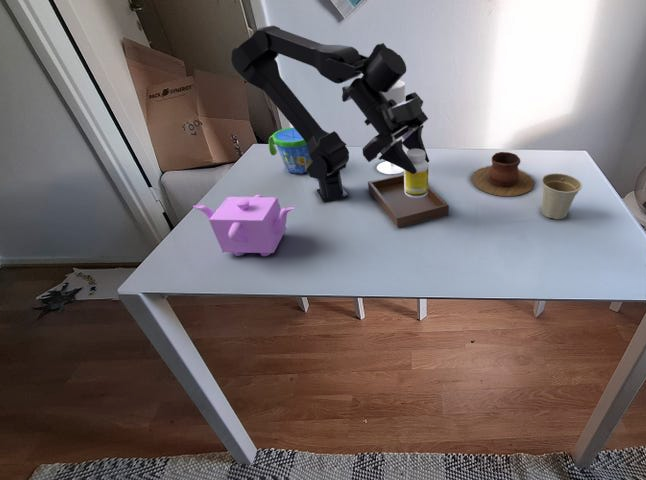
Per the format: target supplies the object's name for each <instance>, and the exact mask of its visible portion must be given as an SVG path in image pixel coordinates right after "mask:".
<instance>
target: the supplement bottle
mask: <svg viewBox="0 0 646 480" xmlns="http://www.w3.org/2000/svg"><path fill="white" fill-rule="evenodd" d="M406 155H407V156H408V158H409V159H410V161H411V162H412V164H413V165H414V167H415V169H416V170H417V172H416V173H415V174H412V173H410V172H408V171H406V170H404V171H403V174H404V192H405V194H406V195H407V196H409V197H411V198H421V197H424V196H426V195H427V193H428V185H429V162H428V163H427V161H426V160H425V158H426V156H425V151H424V150H422V149H410V150H408V149H407V150H406Z"/></svg>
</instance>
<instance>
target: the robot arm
mask: <svg viewBox="0 0 646 480" xmlns="http://www.w3.org/2000/svg"><path fill="white" fill-rule="evenodd" d="M279 55H282V56H284V57H287V58H289V59H291V60H295V61H297V62H300V63H303V64H305V65H308V66H310V67H313V68H314V69H316V71H318V73H319V75H320V76H322V77H323V78H325V79H327V80H329V81H330V82H332V83H334V84H338V85H339V84H343V83H345V82H347V81H350V80H353V81H352V82H351V83H350V84H347V85H344V86H343V87H341V91H342V95H341V100H342V102H344V103H345V102H347V101H350V100H352V101H353V102H354V103H355V105H356V106H357V108H358V109H359V110H360V112H361V113H362V114H363V116H364V117H365V118H366V119H365V120H364V124H365V125H366V126H370V125H371V126H372V127H373V128H374V130H375V131H376V132H377V133H378V134H377V135H375V136H374V137H372V138H371V139H370V140H369V142H368V143H366V145H364V147H362V148H361V149H362V156H363V157H364V158H365V160H366V161H367V162H368V163H370V162H372V161H374V160H375V159H376V158H377V157H378V155H379V154H380V156H379V157H378V160H379V161H381V160H383V161H384V162H387V161H388V162H390V163H392V164H394V165H396V166H398V167H400V168H402V169H404V170H406V171H408V172H410V173H412V174H415V173H416V172H417V170H416V169H415V167H414V165H413V164H412V162H411V161H410V159H409V158H408V156H407V152H405V150H404V148H403V146H404V147H405V148H406V149H407V151H408V150H410V149H422V150H424V151H425V156H426V158H425V160H426V161H427V163H428V164H429V163H430V158H429V155H428V154H427V150H426V147H425V145H424V141H423V139H422V138H423V137H422V133H423V129H424V124H425V123H426V122H427V121H428V120H429V117H428V116H427V114H426V113H425V112H424V111H423V109H422V107H423V105H424V100H423V99H422V98H421V97H420V95H419V94H418V93H417V92H416V91H413V92H410V93H408V94H405V101H404V102H402V103H399V104H397V103H396V102H395V101H394V100H392V99H391V100H389V101H388V100H387V99H386V97H385V96H384V95H383V93H382V92H384V93H385V92H388V91H389V90H390V89H391V88H392V87H393V86H394V85H395V84H396V82H397V81H398V80H401V79H402V77H403V76H404V75H405V74H406V73H407V64H406V62H405V61H404V59H403V57H402V56H401V55H400V54H398V52H396V51H394V50H393V49H392V48H389V47H387V46H386V44H385V43H384V42H380V43H378V44H376V45H375V46H374V48H373V49H372V52H371V53H370V54H369V56H366V55H365V54H362V53H360V52H359V50H357V48H355V47H354V46H349V45H342V44H324V43H320V42H317V41H314V40H311V39H308V38H306V37H304V36H301V35H298V34H296V33H293V32H289V31H287V30H284V29H281V27H278V26H276V25H268V26H267V25H266V26H262V27H258V28H257V29H256V30H255V31H254V32H253V34H252V35H251V36H250V37H248V38H247V39H246V40H245V41H243V42H242V43H240V44H239V45H238V46H236V47H233V49H232V51H231V57H230V58H231V59H230V60H231V65H232V66H233V68H234V69H235V71H236V72H237V73H238V74H239V75H240V76H241V77H242V78H243V79H244V80H245V81H246V82H247V83H248V84H251V85H252V86H254V87H256V88H258V89H259V90H262V91H263V92H264V93H265V94H266V95H267V97H268V98H269V99H270V100H271V102H272V103H273V104H274V105H275V106H276V108H277V109H278V110H279V111H280V113H281V114H282V115H283V116H284V118H285V119H286V120H287V121H288V122H289V124H290V125H291V126H292V128H295V129H296V131H297V132H298V133H299V134H300V135H301V137H302V138H303V139H304V140H305V142H306V143H307V148H308V153H309V156H310V158H311V159H312V161H313V162H312V163H311V164H310V165H309V166H308V168H307V169H306V170H307V172H306V173H307V174H308V176H309V177H310V178H312V179H315V180H317V183H318V187H319V188H316V193H317V194H318V196H319V198H320V200H321V201H322V202H323V203H326V202H331V201H334V200H339V199H343V198H344V199H345V198H347V197H348V193H347V191H346V190H345V189H344V187H343V181H342V176H341V171H342V170H343V169H346V168H347V163H348V162H349V160H350V151H349V149H348V147H347V143H346V142H345V141H343V139H342V138H341V137H340V135H339V134H338V132H337V131H335V130H333V131H331V132H330V133H329V132H328V131H325V130H324V129H323V128H322V127H321V125H320V124H319V123H318V122H317V121H316V119H315V118H314V117H313V115H312V114H311V113H310V112H309V111H308V109H307V108H306V106H304V104H303V103H302V102H301V100H299V98H298V97H297V96H296V94H294V92H293V91H292V90H291V88H290V87H289V86H288V84H287V83H286V82H285V81H284V80H283V78H282V77H281V73H280V67H279V63H278V62H277V60H276V59H277V58H278V56H279ZM361 74H362V76H361ZM359 76H361V77H359ZM400 138H401V139H400ZM398 139H399V140H398Z"/></svg>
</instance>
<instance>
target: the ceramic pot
mask: <svg viewBox="0 0 646 480" xmlns="http://www.w3.org/2000/svg"><path fill="white" fill-rule="evenodd" d="M520 164H521V158H520V156H518V155H517V154H516V153H513V152H508V151H499V152H495V153H494V154H493V155H492V156H491V165H490V166H485V167H481V168H478V169H477V170H476V171H474V172H473V174H472V175H471V178H470V181H471V183H472V184H473V185H474V186H475V187H476V188H477V189H478V190H481V191H482V192H484V193H487V194H490V195H495V196H499V197H513V196H520V195H523V194H527V193H528V192H531V191H532V190H533V188H534V183H535V182H534V179H533V178H532V177H531V175H529V174H527V173H526V172H524V171H522V170H520V169H519V165H520Z"/></svg>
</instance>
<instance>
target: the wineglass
mask: <svg viewBox="0 0 646 480" xmlns="http://www.w3.org/2000/svg"><path fill="white" fill-rule="evenodd" d="M382 93H383V95H384V96H385V97H386V99H387V100H388V101H389V100H391V99H392V100H394V101H395V102H396V103H397V104H399V103H402V102H404V101H405V97H406V83H405V81H403V80H401V79H399V80H398V81H397V82H396V84H395V85H394V86H393V87H392V88H391V89H390V90H389V91H388V92H385V93H384V92H382ZM376 170H377V171H378V172H379V173H381V174H385V175H397V174H402V173H404V169H402V168H400V167H398V166H396V165H394V164H392V163H390V162H388V161H383V162H381V163H379V164H378V165H377V166H376Z"/></svg>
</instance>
